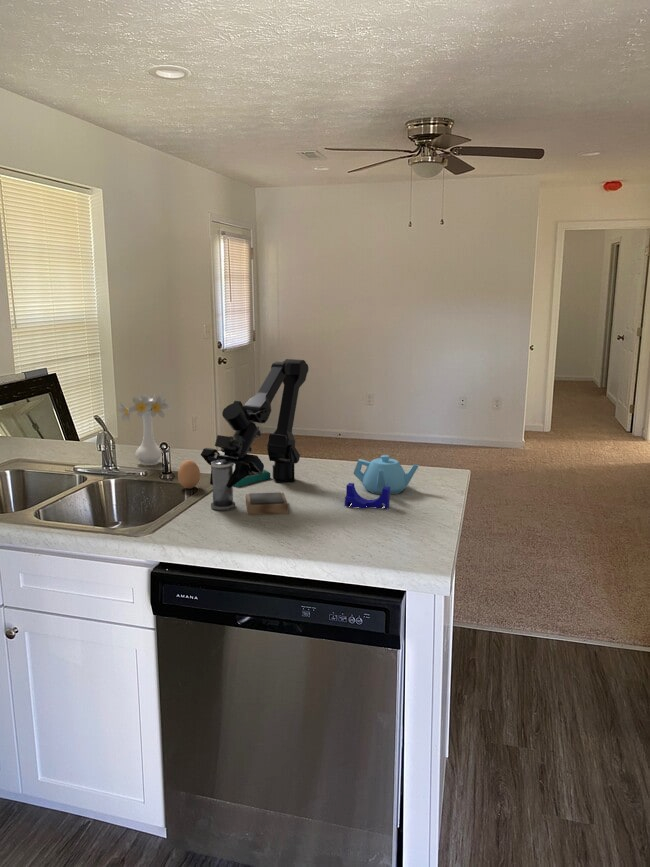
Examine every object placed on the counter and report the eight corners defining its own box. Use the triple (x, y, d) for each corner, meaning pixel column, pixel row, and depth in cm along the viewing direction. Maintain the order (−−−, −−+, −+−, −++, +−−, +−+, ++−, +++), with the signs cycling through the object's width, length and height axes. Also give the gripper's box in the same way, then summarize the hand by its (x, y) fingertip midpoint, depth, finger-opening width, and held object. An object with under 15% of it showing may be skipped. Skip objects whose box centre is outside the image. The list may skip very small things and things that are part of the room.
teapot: (388, 479, 219) (389, 447, 216) (419, 491, 206) (420, 457, 204) (350, 486, 210) (351, 453, 208) (380, 499, 198) (381, 463, 196)
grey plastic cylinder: (234, 502, 192) (234, 459, 190) (235, 510, 186) (235, 465, 183) (211, 503, 191) (210, 459, 188) (210, 511, 185) (209, 465, 182)
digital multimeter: (272, 479, 219) (272, 470, 218) (237, 488, 208) (237, 479, 207) (257, 475, 223) (257, 466, 223) (222, 483, 213) (222, 475, 212)
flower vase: (114, 466, 230) (111, 394, 225) (156, 456, 245) (153, 388, 239) (140, 472, 223) (136, 398, 217) (181, 461, 237) (179, 392, 232)
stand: (283, 501, 195) (283, 491, 194) (287, 513, 184) (287, 502, 183) (245, 502, 193) (245, 492, 192) (247, 514, 182) (247, 504, 182)
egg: (176, 486, 208) (175, 458, 206) (198, 484, 210) (197, 456, 209) (180, 492, 202) (179, 463, 200) (202, 490, 204) (201, 461, 202)
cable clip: (344, 507, 191) (345, 487, 189) (348, 502, 195) (349, 482, 194) (386, 511, 187) (386, 491, 186) (389, 506, 191) (389, 486, 190)
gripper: (203, 420, 191) (179, 466, 184) (257, 427, 183) (234, 475, 175) (221, 442, 200) (198, 486, 193) (273, 449, 191) (251, 496, 184)
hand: (219, 485), depth 186 cm, fingers closed on grey plastic cylinder, 6 cm apart
